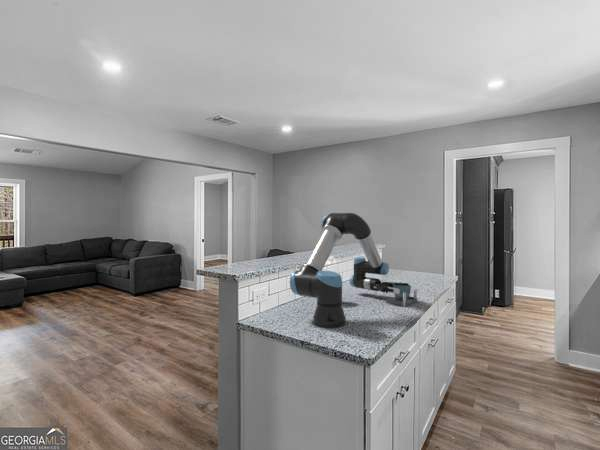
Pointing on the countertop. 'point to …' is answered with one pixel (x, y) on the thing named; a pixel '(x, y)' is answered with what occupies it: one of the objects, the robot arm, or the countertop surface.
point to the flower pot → (402, 290)
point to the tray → (404, 302)
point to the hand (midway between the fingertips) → (405, 289)
